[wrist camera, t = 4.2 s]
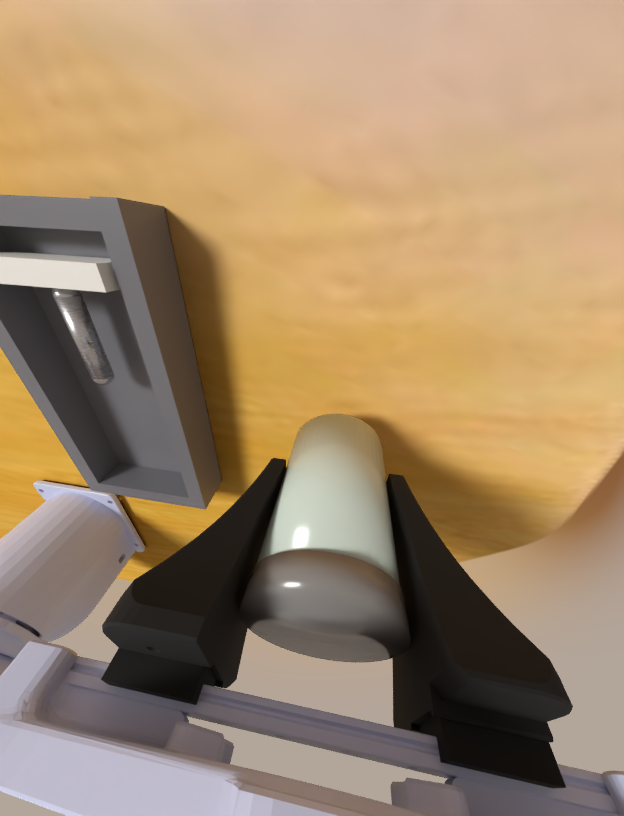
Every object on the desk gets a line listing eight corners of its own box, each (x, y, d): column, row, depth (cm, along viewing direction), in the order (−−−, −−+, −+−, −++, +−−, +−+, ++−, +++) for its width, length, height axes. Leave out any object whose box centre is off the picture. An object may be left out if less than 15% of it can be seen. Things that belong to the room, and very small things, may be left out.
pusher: (170, 381, 15) (145, 400, 13) (72, 370, 15) (35, 386, 13) (136, 260, 11) (96, 263, 10) (12, 251, 12) (-47, 253, 10)
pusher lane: (221, 480, 20) (205, 509, 18) (118, 465, 21) (91, 490, 19) (164, 206, 11) (116, 198, 9) (-17, 197, 12) (-101, 187, 10)
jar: (375, 486, 15) (391, 672, 9) (293, 475, 16) (248, 643, 9) (392, 417, 13) (433, 612, 6) (292, 407, 13) (227, 575, 6)
